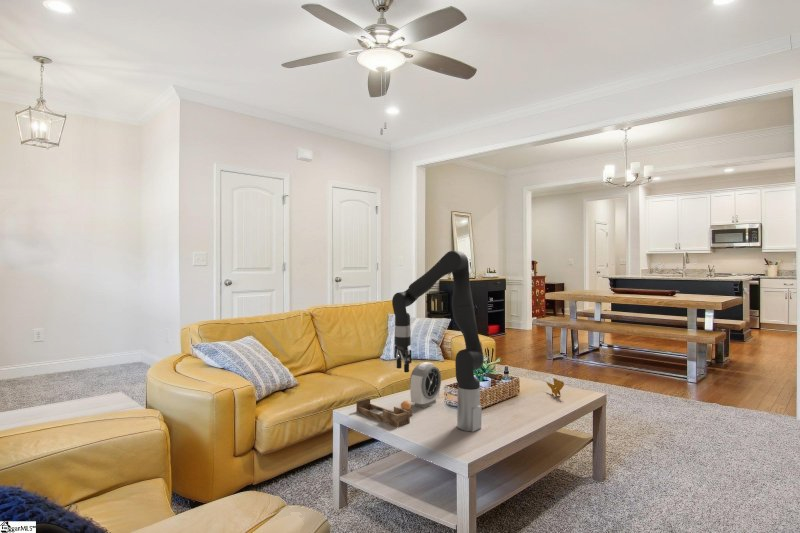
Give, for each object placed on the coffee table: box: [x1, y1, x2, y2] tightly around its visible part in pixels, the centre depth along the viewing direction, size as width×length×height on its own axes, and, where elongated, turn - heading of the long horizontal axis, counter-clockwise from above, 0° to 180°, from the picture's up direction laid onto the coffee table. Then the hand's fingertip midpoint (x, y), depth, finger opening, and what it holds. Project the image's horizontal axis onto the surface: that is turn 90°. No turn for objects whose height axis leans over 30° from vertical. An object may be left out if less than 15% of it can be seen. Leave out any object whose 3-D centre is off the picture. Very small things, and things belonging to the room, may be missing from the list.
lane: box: [355, 397, 411, 428], centre depth 199 cm, size 27×7×5 cm, turn 45°
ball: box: [400, 400, 412, 411], centre depth 202 cm, size 4×4×4 cm
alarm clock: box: [409, 361, 442, 409], centre depth 218 cm, size 18×8×20 cm, turn 143°
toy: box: [545, 377, 565, 397], centre depth 235 cm, size 3×16×10 cm, turn 14°
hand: (402, 370), depth 206 cm, fingers open, 8 cm apart
